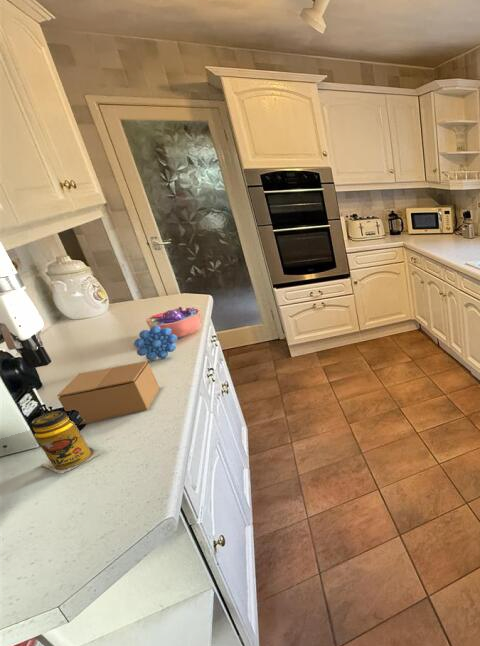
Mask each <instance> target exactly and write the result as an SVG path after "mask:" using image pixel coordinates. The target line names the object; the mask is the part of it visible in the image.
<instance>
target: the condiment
mask: <svg viewBox="0 0 480 646" xmlns="http://www.w3.org/2000/svg"><path fill="white" fill-rule="evenodd" d="M30 427H31V428H32V430H33V431H34V432H35V433H34V438H35V440H36V441H37V443H38V444H39V445H40V448H41V449H42V451H43V452H44V453H45V455H46V457H47V459H48V461H47V462H45V463H43V464H41V466H42V467H44V468H46V469H49V470H51V471H53V472H55V473H57V474H59V475H63V474H65V473H66V472H68V471H71V470H72V469H75V468H77V467H79V466H81V465H83V464H84V463H87V462H89V461H90V460H92V459H94V458H95V457H97V456H99V455H101V454H103V453H104V452H103V451H100V450H97V449H94V448H92V447H89V445H88V443H87V441H86V440H85V438H84V437H83V435H82V433H81V431H80V429H79V428H78V425H75V423H74V422H73V421H71V420H70V418H69V416H68V415H67V413H66V411H62V410H57V411H51V412H48V413H44V414H42V415H40V416H38V417H36V418H34V419H33V420H32V421H31V422H30Z"/></svg>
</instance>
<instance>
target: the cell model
mask: <svg viewBox="0 0 480 646" xmlns="http://www.w3.org/2000/svg"><path fill="white" fill-rule="evenodd" d="M145 323H146V324H147V325H148V327H149V329H150V328H151V327H153V326H159V327H160V328H161V330H162V329H163V328H170V329H171V331H172V333H171V334H170V335H172V334H174V335H176V336H177V339H179V338H183V337H187V336H189V335H191V334H193V333H195V332H196V331H197V330H198V329H199V328H200V327H201V326H202V317H201V310H200V309H198V308H194V307H184V308H183V307H181V306H178V307H177V308H174V309H169V310H166V311H164V312H160V313H157V314H154V315H151V316H149V317H148V318H146V319H145Z"/></svg>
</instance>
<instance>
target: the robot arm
mask: <svg viewBox="0 0 480 646" xmlns="http://www.w3.org/2000/svg"><path fill="white" fill-rule="evenodd" d="M26 289H27V287H26V285H25V284H24V282H23V280H22V278H21V277H20V274H19V273H18V271H17V269H16V267H15V266H14V264H13V261H12V259H11V258H10V256H9V255H8V252H7V251H6V249H5V247H4V245H3V244H2V242H1V241H0V345H2V344H3V343H5V345H6V348H7V349H8V351H12V350H15V352H17V353H18V354H19V355H20V356H21V358H22V360H23V361H24V363H25V365H26V366H27V368H28V369H35V368H40V367H46V366H49V365H50V364H51V363H52V359H51V358H50V356H49V354H48V352H47V350H46V348H45V347H44V342H43V341H42V338H41V336H40V335H41V334H42V330H43V328H44V326H45V323H44V319H43V318H42V316H41V314H40V312H39V310H38V309H37V307H36V306H35V303H33V301H32V300H31V298H30V296H29V295H28V293H27V292H26V291H25V290H26Z"/></svg>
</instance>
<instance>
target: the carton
mask: <svg viewBox="0 0 480 646" xmlns="http://www.w3.org/2000/svg"><path fill="white" fill-rule="evenodd" d="M113 367H114V368H113V369H112V370H111V372H110V373H109V374H108V375H107V376H106V377H105V378H104V380H103V381H102V382H101V383H100V384H99V385H98V387H97V389H94V390H89V391H84V392H79V393H74V394H69V395H64V396H58V397H57V398H58V401H59V403H60V404H61V406H62V408H63V409H64V412H66V411H71V410H76V411H78V412H79V415H80V417H81V418H83V419H84V420H85V421H82V422H81V423H80V424H79V425H78V426H80V425H85V424H88V423H89V424H90V423H93V422H98V421H102V420H106V419H112V418H115V417H120V416H125V415H128V414H134V413H138V412H143V411H146V410H147V411H148V409H149V407H150V406H151V404H152V402H153V401H154V399H155V397H156V396H157V394H158V392H159V391H160V386H159V383H158V381H157V379H156V377H155V376H156V375H155V374H154V372H153V370H152V368H151V366H150V363H148V360H143V361H139V362H133V363H129V364H122V365H117V366H113Z"/></svg>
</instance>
